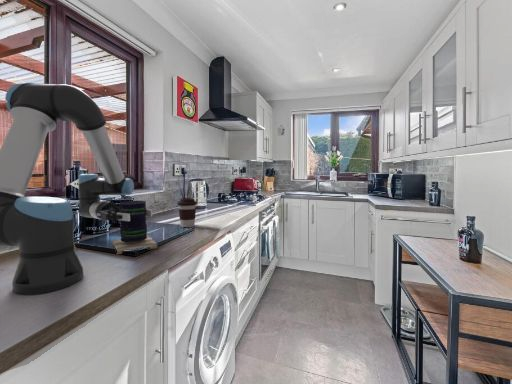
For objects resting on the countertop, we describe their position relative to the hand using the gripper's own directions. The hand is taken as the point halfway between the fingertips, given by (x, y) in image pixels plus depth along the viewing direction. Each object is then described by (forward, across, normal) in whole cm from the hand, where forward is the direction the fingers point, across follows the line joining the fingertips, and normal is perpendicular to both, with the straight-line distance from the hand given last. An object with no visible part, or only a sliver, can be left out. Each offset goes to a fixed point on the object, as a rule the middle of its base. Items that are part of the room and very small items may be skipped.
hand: (140, 215), depth 101 cm
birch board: (-4, 0, -13) cm, 14 cm away
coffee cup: (-8, -37, -13) cm, 40 cm away
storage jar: (-4, 0, -10) cm, 11 cm away
